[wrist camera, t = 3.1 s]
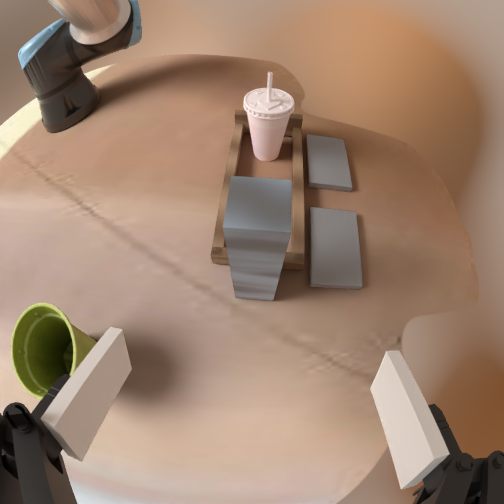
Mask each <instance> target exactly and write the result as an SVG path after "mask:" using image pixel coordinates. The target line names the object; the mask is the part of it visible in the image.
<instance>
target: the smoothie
mask: <svg viewBox="0 0 504 504" xmlns="http://www.w3.org/2000/svg"><path fill="white" fill-rule="evenodd" d="M272 80H273V72H268V83H267V88H259V89H255V90H253V91H250V92H249V93H247V94H246V95H245V97H244V109H245V111H246V112H247V116H248V121H249V127H250V133H251V139H252V145H253V151H254V155H255V157H256V158H257V159H259V160H261V161H272V160H275V159H276V158H277V157H278V155H279V152H280V148H281V145H282V141H283V138H284V134H285V131H286V127H287V124H288V121H289V117H290V115H291V114H292V112H293V111H294V103H295V102H294V99H293V97H292V96H291V95H290V94H288V93H287V92H285V91H282V90H279V89H275V88H272Z"/></svg>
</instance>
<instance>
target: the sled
mask: <svg viewBox="0 0 504 504" xmlns="http://www.w3.org/2000/svg"><path fill="white" fill-rule="evenodd" d="M302 120H303V119H302V115H299V114H291V115H290V117H289V121H288V124H287V127H286V131H285V134H284V135H287V136H292V180H284V179H272V178H258V177H242V176H236V175H237V168H238V162H239V156H240V150H241V144H242V138H243V133H250V127H249V121H248V116H247V112H246V111H244V110H236V112H235V127H234V132H233V137H232V142H231V147H230V152H229V157H228V162H227V167H226V172H225V178H224V183H223V188H222V194H221V199H220V205H219V210H218V216H217V222H216V228H215V234H214V240H213V246H212V252H211V259H212V262H213V263H217V264H229V265H230V270H231V275H232V281H233V286H234V291H235V297H236V298H242V299H255V300H268V301H273V299H274V296H275V292H276V288H277V285H278V281H279V277H280V273H281V269H294V270H302V268H303V266H304V182H303V156H302V136H301V126H302ZM291 185H292V253H291V252H286V250H287V246H288V242H289V238H290V234H291Z"/></svg>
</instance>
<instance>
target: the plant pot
mask: <svg viewBox="0 0 504 504" xmlns="http://www.w3.org/2000/svg"><path fill="white" fill-rule="evenodd" d="M96 343H97V342H96V341H95V340H94V339H93V338H91V337H90V336H88V335H87V334H85V333H84V332H82V331H80V330H79V329H78V328H76V327H75V326H73V325H72V324H71V323H70V321H69V320H68V318H67V317H66V315H65V314H64V313H63V312H62V311H61V310H60V309H59V308H57V307H55V306H54V305H52V304H49V303H36V304H34V305H32V306H30V307H29V308H27V309H26V310H25V311H24V312H23V313H22V315H21V316H20V318H19V319H18V321H17V323H16V326H15V328H14V331H13V335H12V341H11V355H12V363H13V368H14V371H15V373H16V375H17V378H18V380H19V382H20V383H21V385H22V386H23V387H24V389H25V390H26V391H27V392H28V393H29V394H31V395H32V396H34V397H35V398H37V399H40V400H42V398H43V397H44V396H45V394H47V392H48V390H49V389H50V388H51V386H52V385H53V384H54V382H55V381H56V380H57V379H58V378H60V377H61V376H63V375H64V374H68V375H70V376H72V374H73V373H74V372H75V370H76V369H77V368H78V366H79V365H80V364H81V362H82V361H83V360H84V359H85V357H86V356H87V355H88V354H89V352H90V351H91V350H92V348H93V347H94V346H95V345H96ZM72 345H73V348H72V349H71V347H72ZM70 366H71V367H72V369H71V371H70V368H69V367H70Z"/></svg>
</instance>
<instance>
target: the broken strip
mask: <svg viewBox="0 0 504 504" xmlns="http://www.w3.org/2000/svg"><path fill="white" fill-rule="evenodd" d="M306 151H307V169H308V187H313V188H322V189H331V190H339V191H347V192H350V191H351V189H352V182H351V176H350V170H349V165H348V159H347V154H346V149H345V144H344V139H339V138H332V137H325V136H317V135H309V134H307V135H306ZM309 227H310V287H324V288H341V289H361V288H362V287H363V284H362V269H361V256H360V245H359V235H358V226H357V218H356V212H353V211H345V210H336V209H326V208H316V207H310V210H309Z"/></svg>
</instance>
